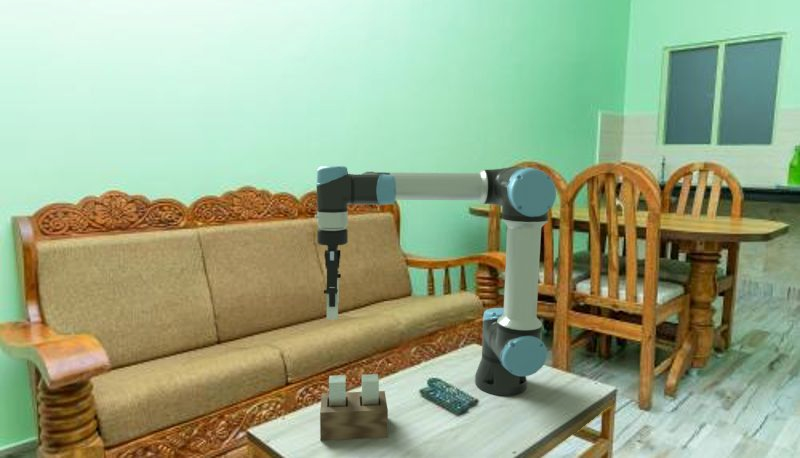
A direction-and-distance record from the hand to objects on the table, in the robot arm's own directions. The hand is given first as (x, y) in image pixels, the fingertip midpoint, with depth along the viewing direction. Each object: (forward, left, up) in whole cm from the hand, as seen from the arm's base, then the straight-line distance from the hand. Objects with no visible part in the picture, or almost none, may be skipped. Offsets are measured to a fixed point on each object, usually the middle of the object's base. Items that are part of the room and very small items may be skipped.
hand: (332, 310), depth 133 cm
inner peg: (-9, +8, -21) cm, 24 cm away
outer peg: (-1, +8, -21) cm, 23 cm away
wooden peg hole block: (-5, +8, -28) cm, 29 cm away
